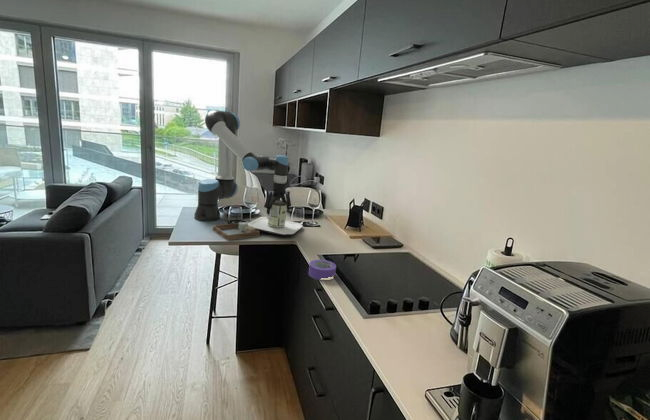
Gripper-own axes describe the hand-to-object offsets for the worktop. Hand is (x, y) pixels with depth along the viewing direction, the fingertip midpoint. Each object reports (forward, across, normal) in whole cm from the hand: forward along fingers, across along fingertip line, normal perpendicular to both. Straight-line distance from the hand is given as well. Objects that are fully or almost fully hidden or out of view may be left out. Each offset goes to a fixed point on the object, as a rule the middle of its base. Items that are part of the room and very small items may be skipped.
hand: (276, 218), depth 202 cm
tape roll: (+7, -16, -62) cm, 64 cm away
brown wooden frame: (+7, -25, +2) cm, 26 cm away
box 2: (+7, -19, -3) cm, 20 cm away
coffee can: (+4, 0, 0) cm, 4 cm away
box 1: (+7, -19, +6) cm, 21 cm away
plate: (+6, 0, 0) cm, 6 cm away
